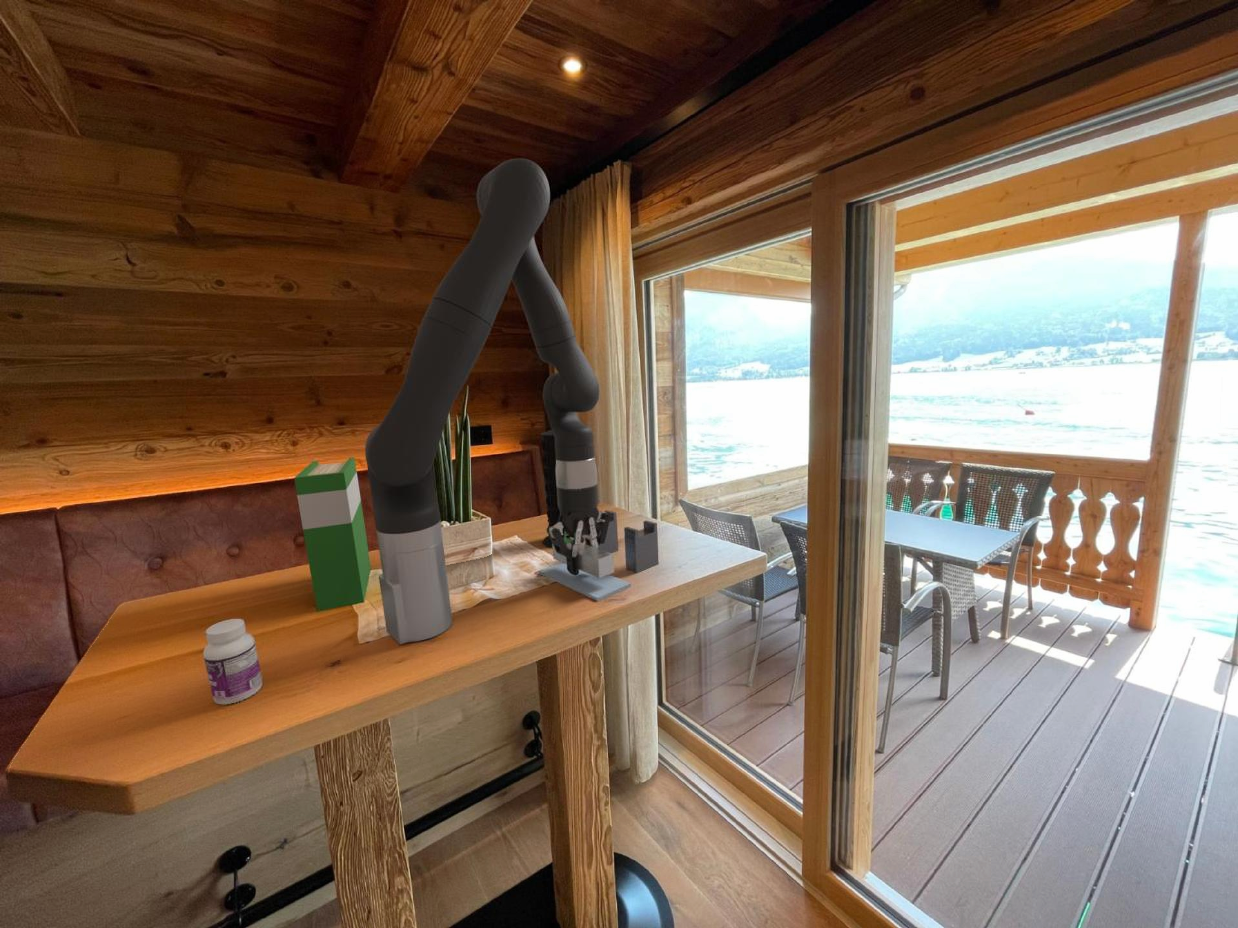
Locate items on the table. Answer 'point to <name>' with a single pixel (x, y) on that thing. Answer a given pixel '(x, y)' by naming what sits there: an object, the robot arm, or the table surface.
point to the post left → (610, 534)
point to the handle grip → (551, 483)
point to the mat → (585, 582)
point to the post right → (641, 547)
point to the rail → (590, 560)
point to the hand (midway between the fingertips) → (582, 570)
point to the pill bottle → (231, 662)
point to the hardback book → (334, 533)
